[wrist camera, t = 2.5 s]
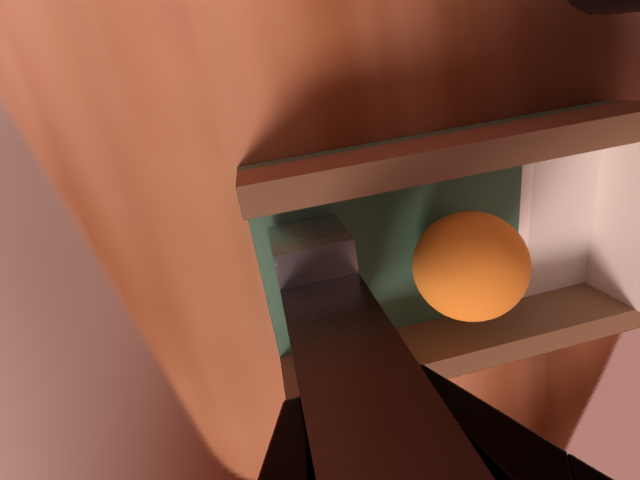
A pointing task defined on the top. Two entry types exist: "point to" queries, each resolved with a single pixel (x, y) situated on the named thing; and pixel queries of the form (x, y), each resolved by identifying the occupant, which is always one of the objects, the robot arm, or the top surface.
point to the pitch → (483, 196)
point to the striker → (359, 369)
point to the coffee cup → (607, 6)
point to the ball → (471, 266)
